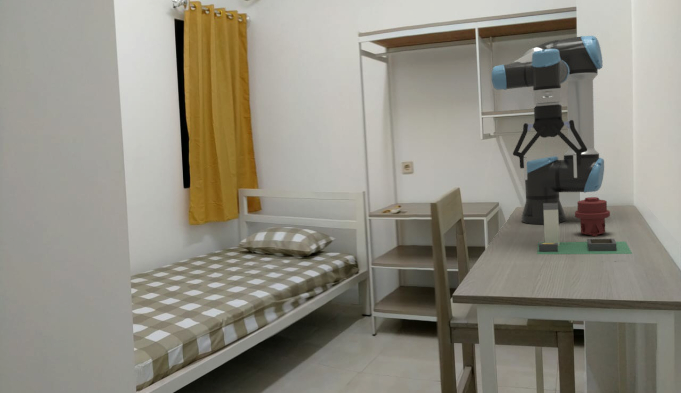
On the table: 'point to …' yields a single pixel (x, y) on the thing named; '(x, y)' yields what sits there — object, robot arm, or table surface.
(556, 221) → the plug
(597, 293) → the table surface
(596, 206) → the mechanical component
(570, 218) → the table surface
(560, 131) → the robot arm
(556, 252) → the board
